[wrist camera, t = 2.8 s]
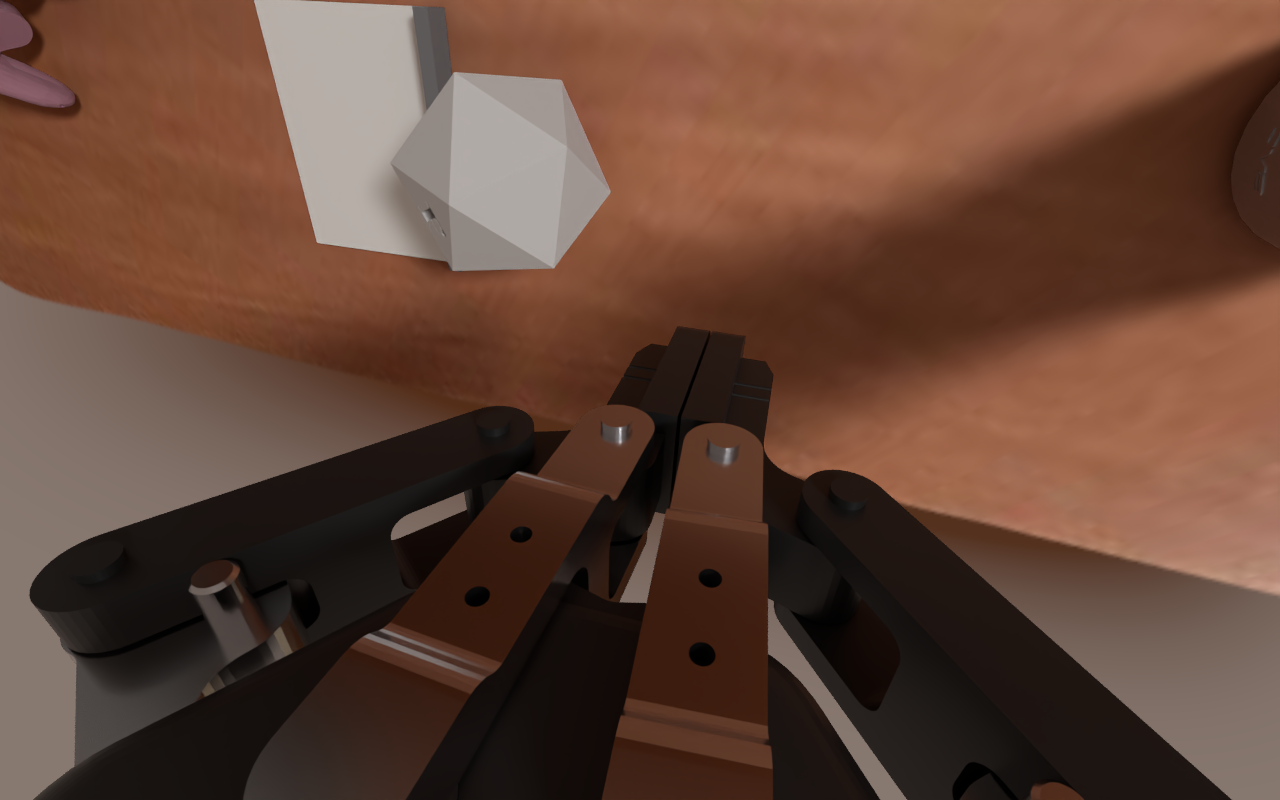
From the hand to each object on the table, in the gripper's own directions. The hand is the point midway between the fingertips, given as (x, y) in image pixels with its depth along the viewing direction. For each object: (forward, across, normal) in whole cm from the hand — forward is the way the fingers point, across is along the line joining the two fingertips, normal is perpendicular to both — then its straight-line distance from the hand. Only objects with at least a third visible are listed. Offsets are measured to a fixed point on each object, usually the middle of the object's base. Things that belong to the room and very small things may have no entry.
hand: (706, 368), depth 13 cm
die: (+20, +12, 0) cm, 23 cm away
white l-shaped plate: (+20, +23, 0) cm, 30 cm away
